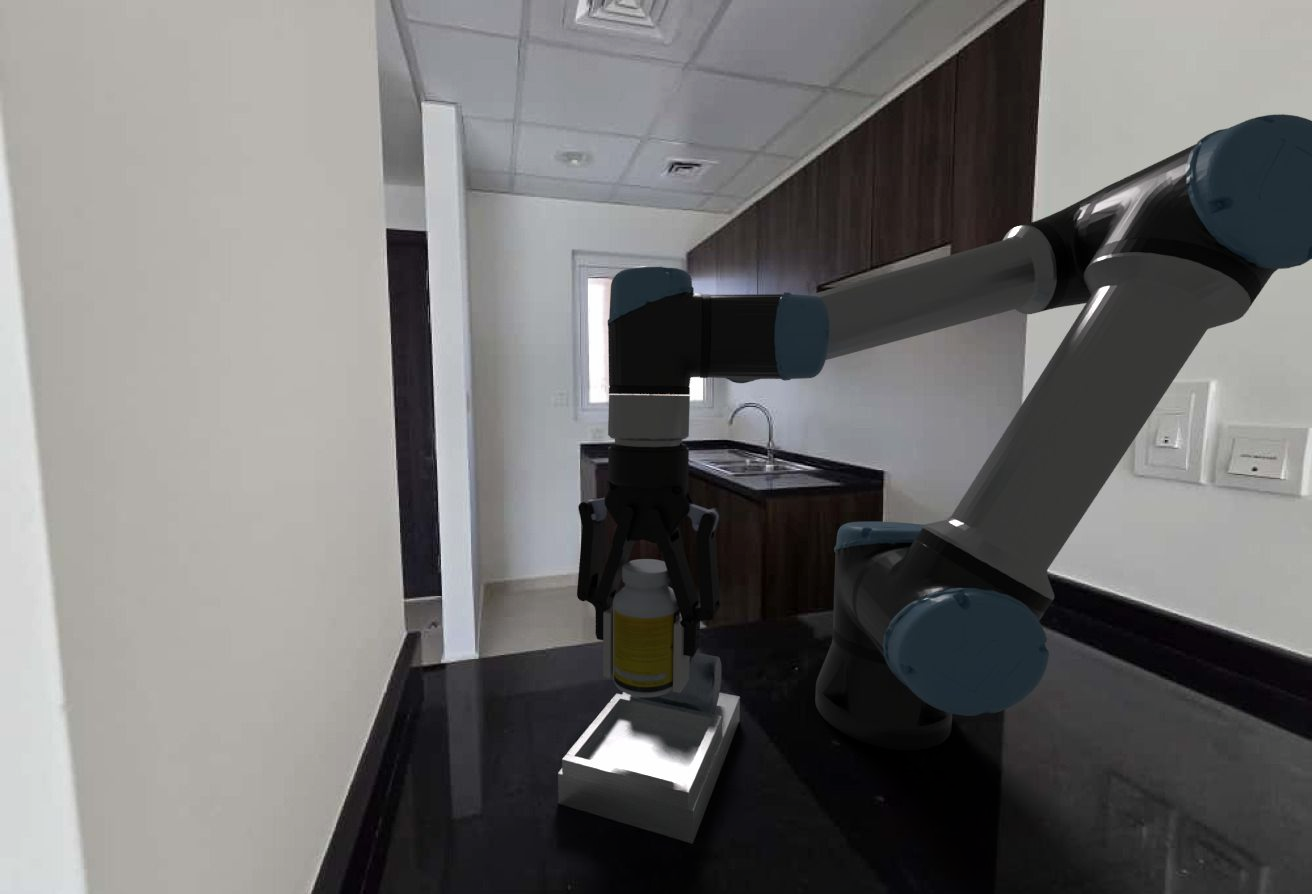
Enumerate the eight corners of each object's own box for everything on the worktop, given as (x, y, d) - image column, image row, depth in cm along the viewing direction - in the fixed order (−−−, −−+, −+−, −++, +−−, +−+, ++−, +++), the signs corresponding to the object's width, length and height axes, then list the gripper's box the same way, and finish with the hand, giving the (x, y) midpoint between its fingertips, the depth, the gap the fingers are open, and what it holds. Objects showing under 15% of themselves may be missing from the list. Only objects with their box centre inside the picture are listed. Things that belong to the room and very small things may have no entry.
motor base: (692, 843, 47) (694, 727, 46) (558, 803, 52) (557, 697, 51) (739, 721, 65) (741, 635, 64) (636, 699, 69) (636, 618, 68)
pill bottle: (672, 704, 50) (674, 579, 49) (604, 696, 52) (604, 574, 50) (683, 670, 57) (685, 558, 56) (622, 663, 58) (622, 554, 57)
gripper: (760, 442, 52) (752, 678, 54) (575, 435, 59) (575, 645, 61) (744, 450, 45) (736, 720, 47) (536, 440, 52) (538, 677, 54)
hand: (646, 677), depth 54 cm, fingers closed on pill bottle, 6 cm apart
